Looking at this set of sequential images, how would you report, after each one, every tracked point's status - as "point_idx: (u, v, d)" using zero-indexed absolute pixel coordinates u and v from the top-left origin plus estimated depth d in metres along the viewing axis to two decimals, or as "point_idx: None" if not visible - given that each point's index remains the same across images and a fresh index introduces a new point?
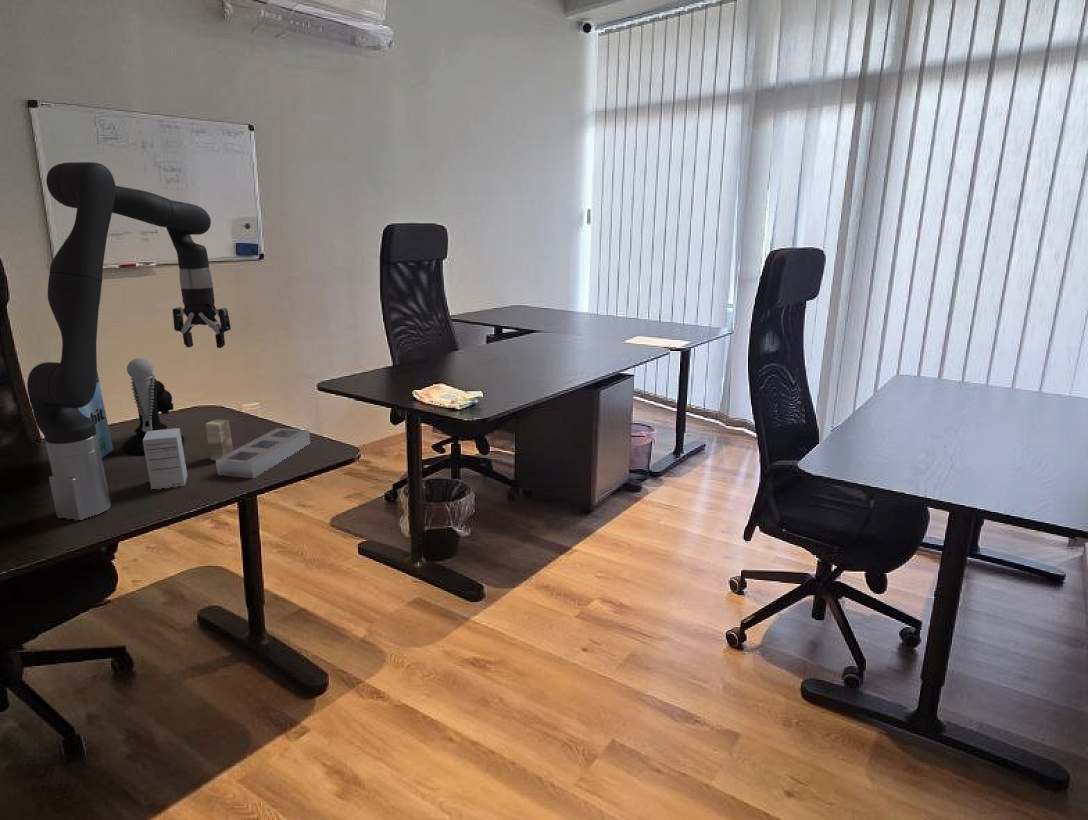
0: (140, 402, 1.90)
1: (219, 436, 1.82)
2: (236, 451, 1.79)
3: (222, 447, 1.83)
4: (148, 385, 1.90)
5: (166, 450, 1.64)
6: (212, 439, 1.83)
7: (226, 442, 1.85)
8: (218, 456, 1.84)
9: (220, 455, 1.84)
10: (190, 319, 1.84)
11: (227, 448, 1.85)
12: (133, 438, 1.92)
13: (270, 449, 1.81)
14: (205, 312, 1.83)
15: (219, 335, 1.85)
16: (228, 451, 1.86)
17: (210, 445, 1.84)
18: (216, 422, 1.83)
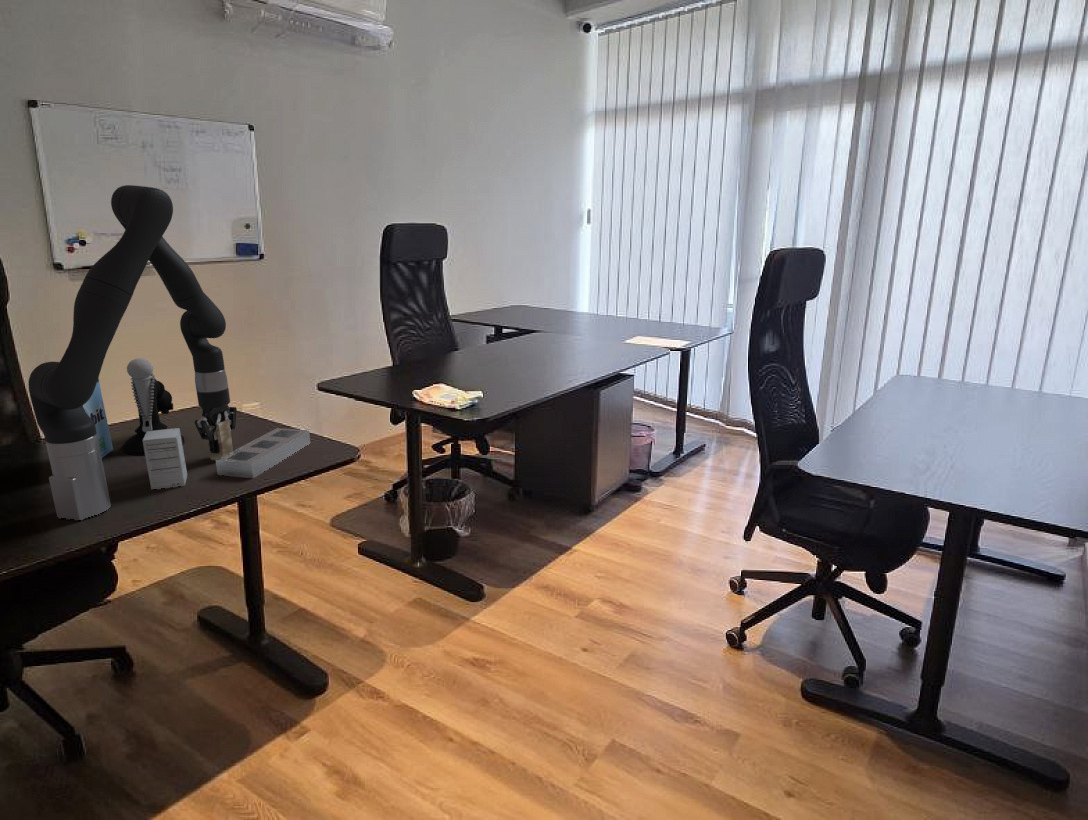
0: (140, 402, 1.90)
1: (219, 436, 1.82)
2: (236, 451, 1.79)
3: (222, 447, 1.83)
4: (148, 385, 1.90)
5: (166, 450, 1.64)
6: None
7: (226, 442, 1.84)
8: (218, 456, 1.84)
9: (220, 455, 1.84)
10: (219, 421, 1.82)
11: (227, 448, 1.85)
12: (133, 438, 1.92)
13: (270, 449, 1.81)
14: None
15: None
16: (228, 451, 1.86)
17: None
18: None
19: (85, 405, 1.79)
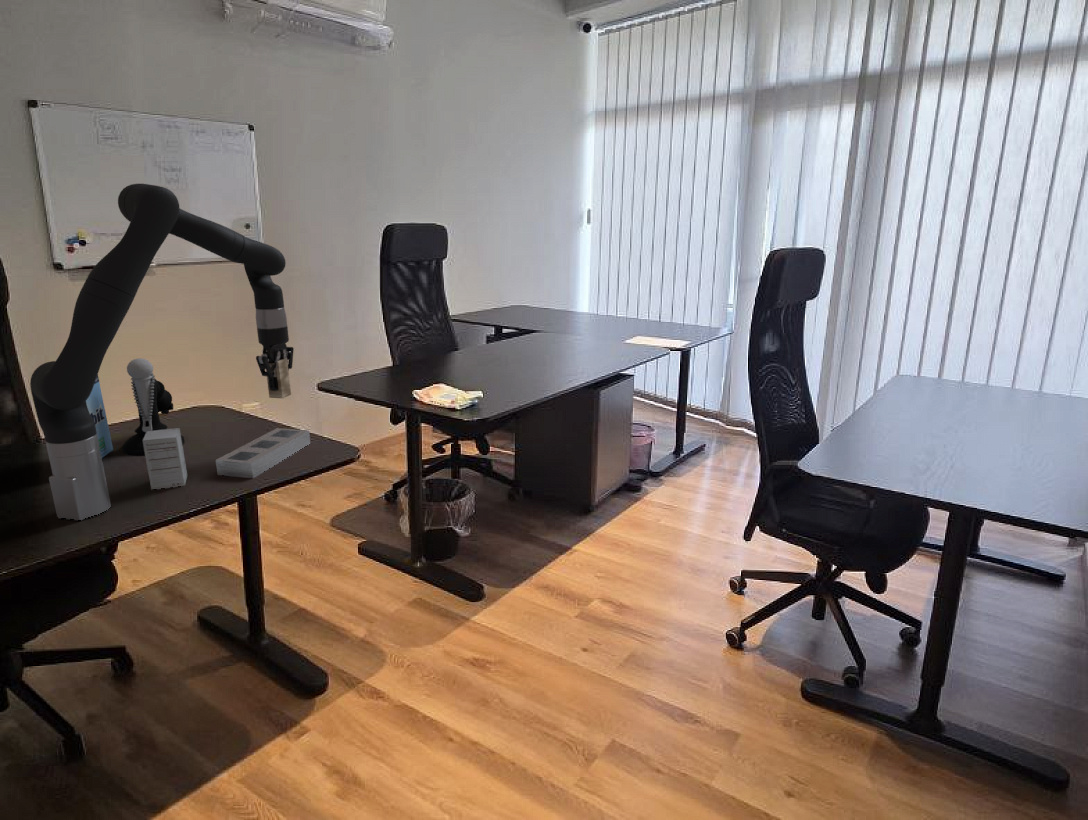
0: (140, 402, 1.90)
1: (278, 373, 1.86)
2: (236, 451, 1.79)
3: (281, 384, 1.87)
4: (148, 385, 1.90)
5: (166, 450, 1.64)
6: None
7: (284, 380, 1.88)
8: (277, 394, 1.88)
9: (279, 392, 1.87)
10: (278, 358, 1.85)
11: (285, 386, 1.89)
12: (133, 438, 1.92)
13: (270, 449, 1.81)
14: None
15: None
16: (286, 389, 1.89)
17: None
18: None
19: None
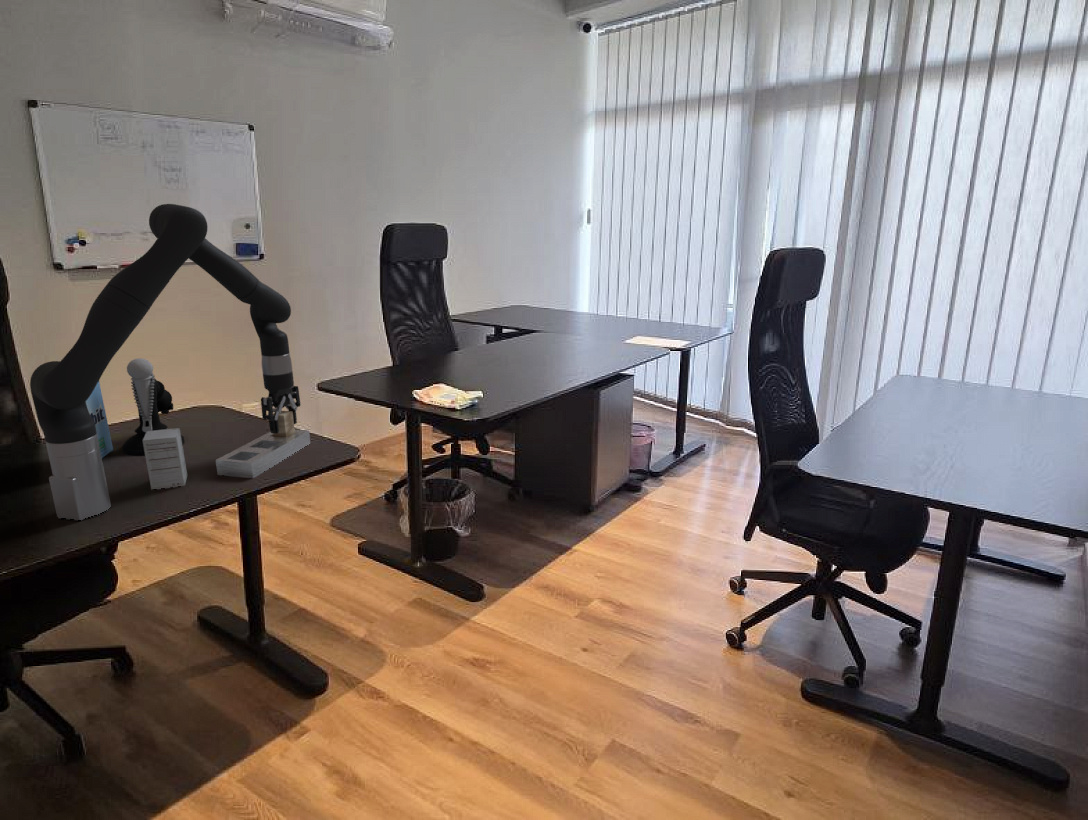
0: (140, 402, 1.90)
1: (283, 426, 1.90)
2: (236, 451, 1.79)
3: (287, 437, 1.91)
4: (148, 385, 1.90)
5: (166, 450, 1.64)
6: None
7: (289, 433, 1.92)
8: None
9: None
10: (282, 403, 1.88)
11: None
12: (133, 438, 1.92)
13: (270, 449, 1.81)
14: (288, 393, 1.91)
15: None
16: None
17: (275, 435, 1.91)
18: (281, 413, 1.90)
19: None
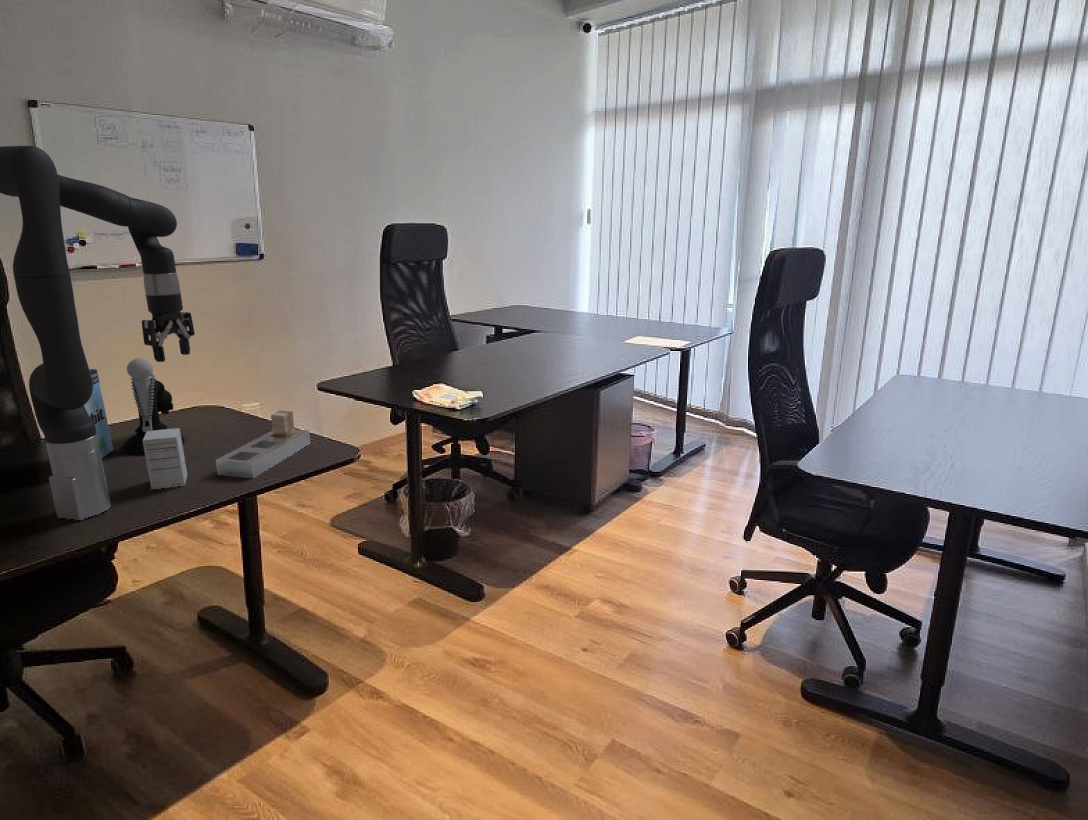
0: (140, 402, 1.90)
1: (283, 426, 1.90)
2: (236, 451, 1.79)
3: (287, 437, 1.91)
4: (148, 385, 1.90)
5: (166, 450, 1.64)
6: (277, 430, 1.91)
7: (289, 433, 1.92)
8: None
9: None
10: (168, 328, 1.70)
11: None
12: (133, 438, 1.92)
13: (270, 449, 1.81)
14: (177, 318, 1.73)
15: (187, 341, 1.77)
16: None
17: (275, 435, 1.91)
18: (281, 413, 1.90)
19: (85, 405, 1.79)
